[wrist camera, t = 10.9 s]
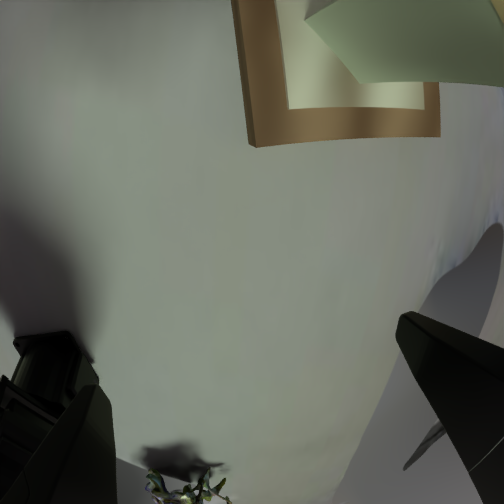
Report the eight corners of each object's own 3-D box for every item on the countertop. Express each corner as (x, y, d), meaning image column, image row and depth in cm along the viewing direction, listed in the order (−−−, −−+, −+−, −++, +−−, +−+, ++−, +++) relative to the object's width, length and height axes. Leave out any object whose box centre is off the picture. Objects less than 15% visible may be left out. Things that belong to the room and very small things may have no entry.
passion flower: (154, 440, 37) (121, 479, 25) (226, 440, 37) (212, 486, 25) (170, 495, 36) (147, 539, 24) (237, 497, 35) (229, 547, 24)
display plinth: (248, 144, 18) (257, 148, 16) (224, -51, 12) (230, -68, 10) (423, 133, 20) (443, 137, 18) (403, -26, 14) (421, -32, 12)
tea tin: (359, 87, 15) (552, 102, 5) (300, 20, 13) (474, -60, 2) (405, 44, 15) (573, 42, 4) (355, -19, 12) (512, -76, 1)
